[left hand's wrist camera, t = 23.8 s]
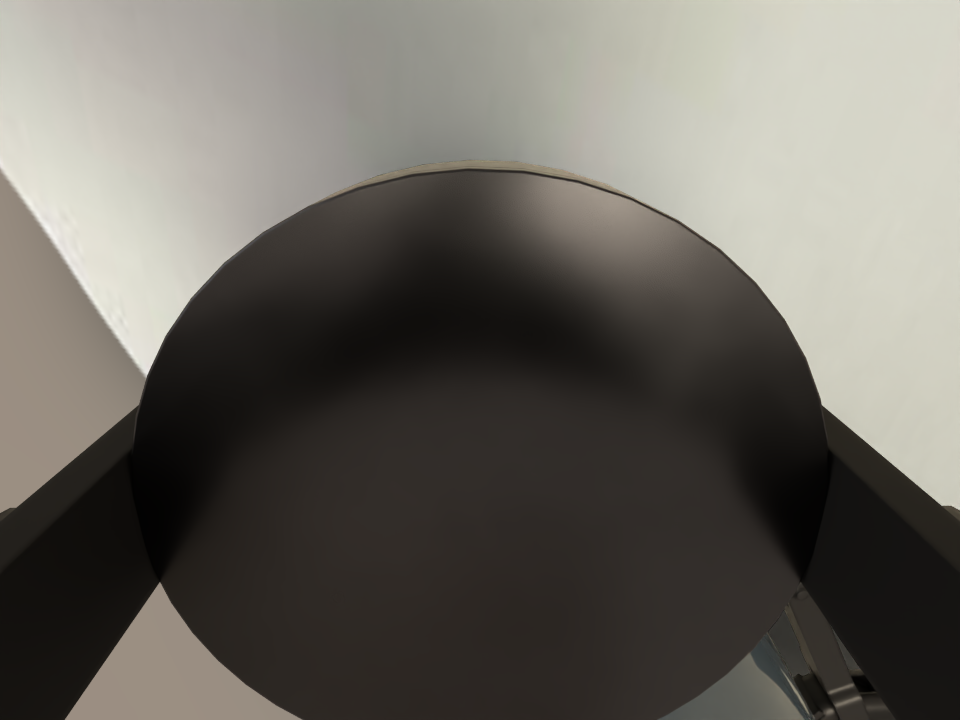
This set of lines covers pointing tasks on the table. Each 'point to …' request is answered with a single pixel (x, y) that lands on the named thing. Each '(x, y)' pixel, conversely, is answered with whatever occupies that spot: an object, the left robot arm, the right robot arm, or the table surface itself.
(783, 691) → the jar
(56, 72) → the table surface
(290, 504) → the lid
